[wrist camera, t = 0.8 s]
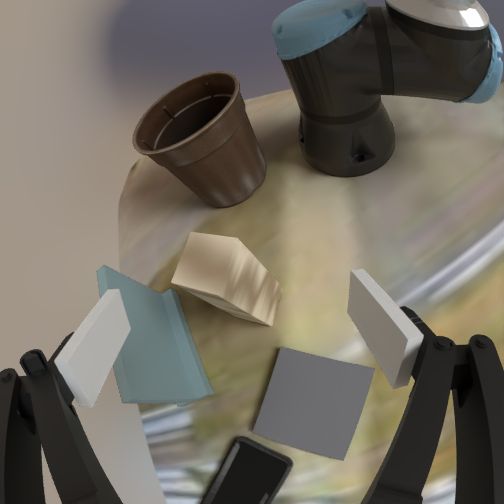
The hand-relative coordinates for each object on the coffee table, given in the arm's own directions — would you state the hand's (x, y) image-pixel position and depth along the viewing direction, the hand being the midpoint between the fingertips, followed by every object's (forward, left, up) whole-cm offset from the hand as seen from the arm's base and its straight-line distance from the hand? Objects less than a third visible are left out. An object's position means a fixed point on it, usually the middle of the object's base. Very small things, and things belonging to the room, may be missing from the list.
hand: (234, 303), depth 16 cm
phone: (+20, +6, -20) cm, 29 cm away
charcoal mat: (+5, +5, -19) cm, 21 cm away
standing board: (+11, -14, -19) cm, 26 cm away
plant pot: (-15, -25, -20) cm, 35 cm away
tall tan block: (-1, -8, -19) cm, 21 cm away
